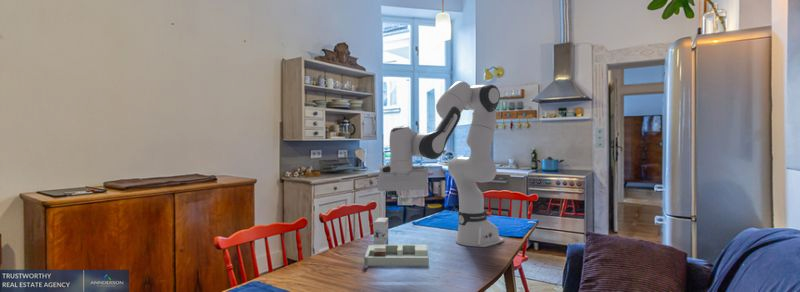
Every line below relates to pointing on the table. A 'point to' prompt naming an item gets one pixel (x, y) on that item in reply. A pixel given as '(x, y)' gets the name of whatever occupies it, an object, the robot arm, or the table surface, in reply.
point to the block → (379, 251)
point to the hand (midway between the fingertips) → (403, 201)
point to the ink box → (381, 231)
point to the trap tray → (398, 256)
